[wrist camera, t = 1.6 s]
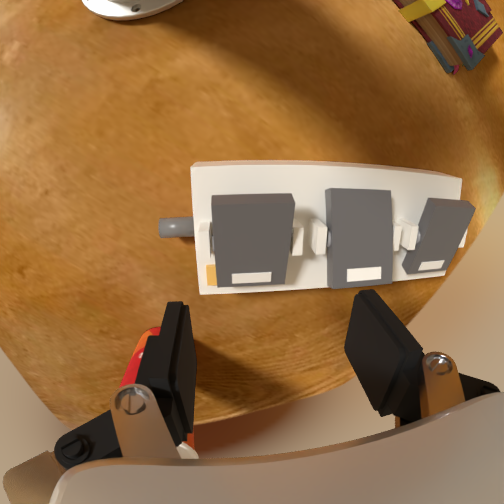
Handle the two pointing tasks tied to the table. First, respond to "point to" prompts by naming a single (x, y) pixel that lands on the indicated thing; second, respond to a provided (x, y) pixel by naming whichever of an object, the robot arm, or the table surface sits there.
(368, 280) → the rocker mid
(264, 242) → the rocker
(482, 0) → the decorative book
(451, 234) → the rocker
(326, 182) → the strip
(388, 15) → the table surface
